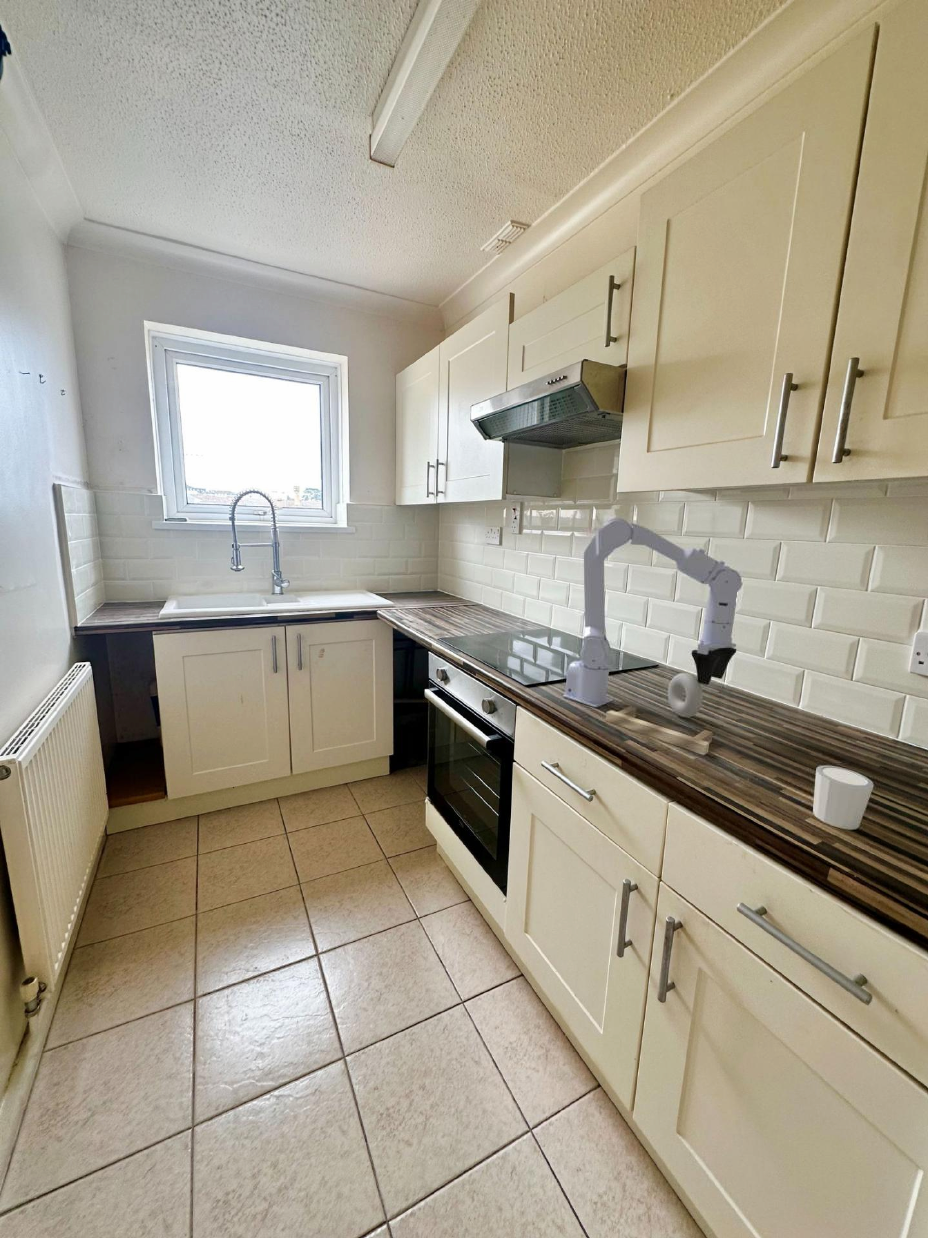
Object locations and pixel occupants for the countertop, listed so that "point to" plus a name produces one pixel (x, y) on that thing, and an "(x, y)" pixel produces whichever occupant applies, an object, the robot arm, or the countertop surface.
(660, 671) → the countertop surface
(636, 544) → the robot arm
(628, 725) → the drawer pull handle
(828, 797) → the white cylinder
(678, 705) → the white rubber ring
